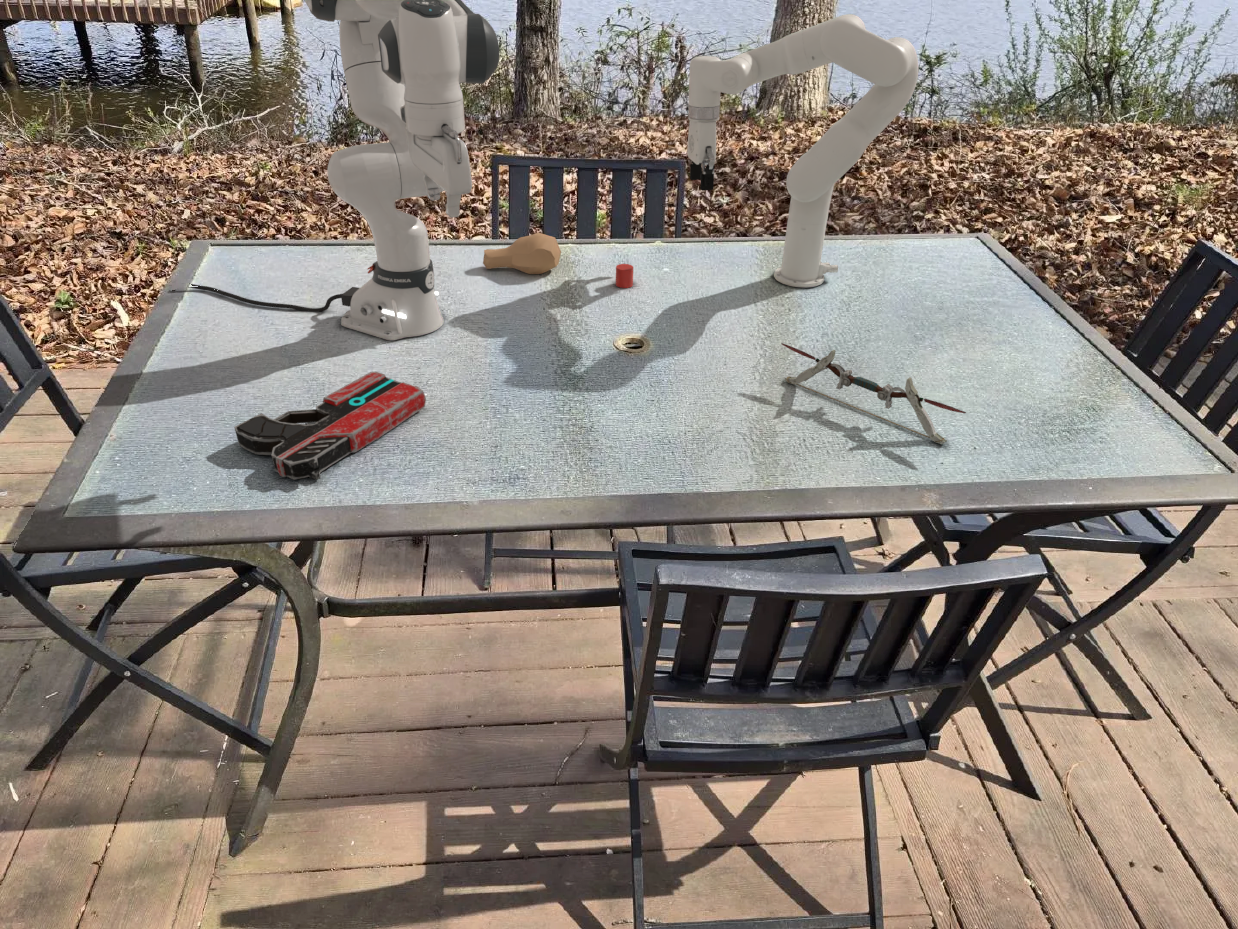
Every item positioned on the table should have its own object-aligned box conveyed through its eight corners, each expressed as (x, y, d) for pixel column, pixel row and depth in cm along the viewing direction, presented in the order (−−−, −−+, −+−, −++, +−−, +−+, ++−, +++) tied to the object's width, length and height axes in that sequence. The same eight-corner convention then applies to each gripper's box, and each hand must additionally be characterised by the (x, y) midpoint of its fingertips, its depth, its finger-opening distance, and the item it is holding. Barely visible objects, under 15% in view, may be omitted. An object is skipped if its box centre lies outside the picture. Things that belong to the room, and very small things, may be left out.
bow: (958, 447, 158) (972, 398, 152) (954, 450, 157) (967, 402, 151) (779, 375, 179) (785, 330, 174) (774, 378, 178) (780, 333, 172)
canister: (619, 280, 220) (620, 262, 217) (635, 283, 218) (636, 265, 216) (612, 286, 217) (613, 268, 214) (628, 289, 215) (629, 271, 213)
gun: (219, 431, 148) (300, 468, 140) (353, 358, 170) (430, 387, 162) (225, 453, 150) (305, 490, 143) (356, 378, 172) (432, 408, 164)
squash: (562, 278, 220) (556, 246, 214) (484, 285, 222) (476, 253, 216) (564, 255, 228) (559, 224, 222) (489, 262, 230) (481, 231, 223)
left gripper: (478, 131, 129) (484, 223, 136) (434, 103, 143) (441, 188, 151) (437, 135, 126) (445, 229, 134) (396, 106, 141) (406, 192, 149)
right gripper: (679, 106, 218) (678, 176, 227) (698, 120, 204) (696, 195, 213) (708, 105, 219) (706, 174, 228) (729, 119, 205) (725, 192, 214)
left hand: (443, 207), depth 143 cm, fingers open, 8 cm apart
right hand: (701, 184), depth 221 cm, fingers open, 9 cm apart
